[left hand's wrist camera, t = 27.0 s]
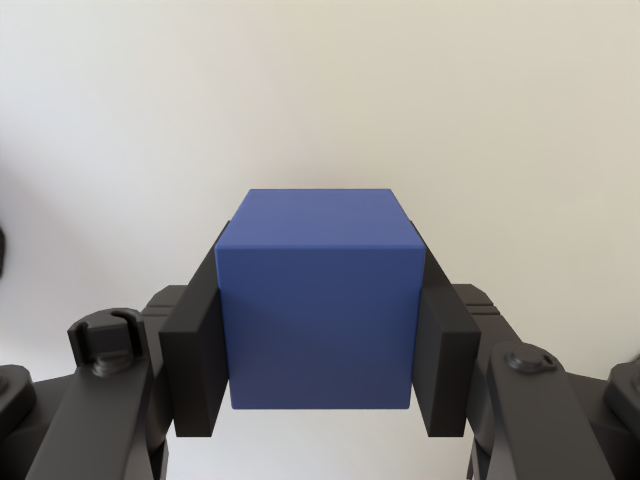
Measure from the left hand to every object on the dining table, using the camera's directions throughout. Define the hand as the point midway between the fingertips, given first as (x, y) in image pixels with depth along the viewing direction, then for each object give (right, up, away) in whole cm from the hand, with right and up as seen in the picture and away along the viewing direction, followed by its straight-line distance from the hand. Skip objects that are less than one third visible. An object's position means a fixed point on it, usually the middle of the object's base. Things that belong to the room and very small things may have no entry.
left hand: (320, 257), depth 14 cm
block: (0, 0, 0) cm, 0 cm away
